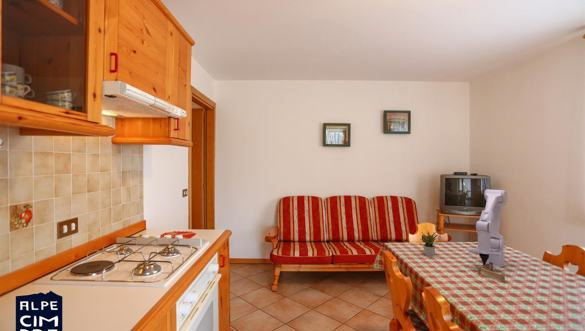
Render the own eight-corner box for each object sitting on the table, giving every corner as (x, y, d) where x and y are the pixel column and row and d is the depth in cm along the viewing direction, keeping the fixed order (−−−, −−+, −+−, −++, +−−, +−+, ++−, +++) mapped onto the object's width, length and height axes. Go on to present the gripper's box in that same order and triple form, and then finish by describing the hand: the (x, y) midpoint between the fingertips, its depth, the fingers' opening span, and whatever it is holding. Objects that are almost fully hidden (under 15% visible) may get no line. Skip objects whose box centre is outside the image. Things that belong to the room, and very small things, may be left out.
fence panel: (482, 273, 145) (481, 266, 145) (478, 272, 147) (478, 265, 147) (493, 270, 150) (493, 262, 150) (490, 269, 152) (490, 261, 152)
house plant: (444, 254, 179) (444, 229, 179) (443, 260, 168) (443, 233, 168) (420, 250, 187) (420, 226, 187) (418, 256, 175) (417, 231, 175)
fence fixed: (479, 273, 146) (478, 265, 146) (505, 282, 134) (505, 274, 134) (477, 273, 146) (476, 266, 146) (503, 283, 134) (503, 274, 134)
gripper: (468, 242, 151) (468, 267, 151) (501, 246, 143) (501, 272, 143) (468, 239, 157) (468, 263, 157) (500, 243, 149) (500, 268, 149)
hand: (484, 267), depth 150 cm, fingers closed, pressing on fence panel
